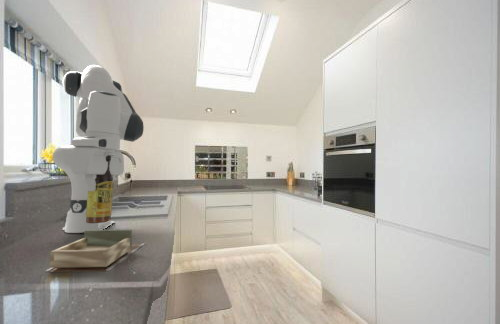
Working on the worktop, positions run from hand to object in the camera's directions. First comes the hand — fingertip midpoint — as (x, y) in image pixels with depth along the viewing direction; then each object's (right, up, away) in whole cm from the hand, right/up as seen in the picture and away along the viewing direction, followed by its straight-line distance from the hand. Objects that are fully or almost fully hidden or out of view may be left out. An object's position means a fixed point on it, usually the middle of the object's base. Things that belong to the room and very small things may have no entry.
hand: (100, 190), depth 67 cm
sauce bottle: (0, -10, -1) cm, 10 cm away
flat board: (0, -21, +2) cm, 21 cm away
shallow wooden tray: (0, -20, -2) cm, 20 cm away
